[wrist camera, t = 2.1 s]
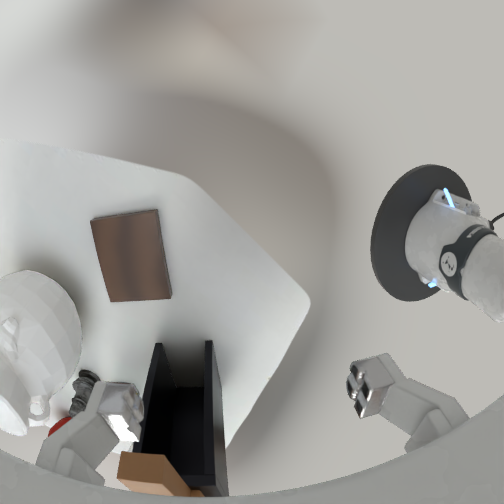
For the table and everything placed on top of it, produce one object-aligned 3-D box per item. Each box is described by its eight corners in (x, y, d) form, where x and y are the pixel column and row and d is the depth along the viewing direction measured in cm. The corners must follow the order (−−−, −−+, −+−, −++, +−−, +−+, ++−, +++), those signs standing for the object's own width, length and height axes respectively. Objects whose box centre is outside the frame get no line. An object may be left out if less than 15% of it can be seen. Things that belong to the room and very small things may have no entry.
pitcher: (113, 296, 40) (49, 422, 17) (82, 358, 44) (39, 460, 21) (29, 232, 34) (-74, 308, 11) (11, 305, 38) (-54, 385, 15)
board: (157, 209, 36) (155, 211, 34) (172, 293, 41) (170, 298, 39) (94, 218, 35) (89, 221, 34) (113, 297, 40) (110, 302, 38)
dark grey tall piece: (87, 365, 45) (68, 409, 33) (107, 383, 47) (93, 427, 36) (73, 373, 45) (54, 414, 34) (92, 390, 47) (77, 431, 36)
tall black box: (212, 340, 45) (216, 485, 21) (221, 388, 49) (230, 510, 25) (155, 343, 44) (127, 480, 20) (172, 391, 49) (162, 508, 25)
